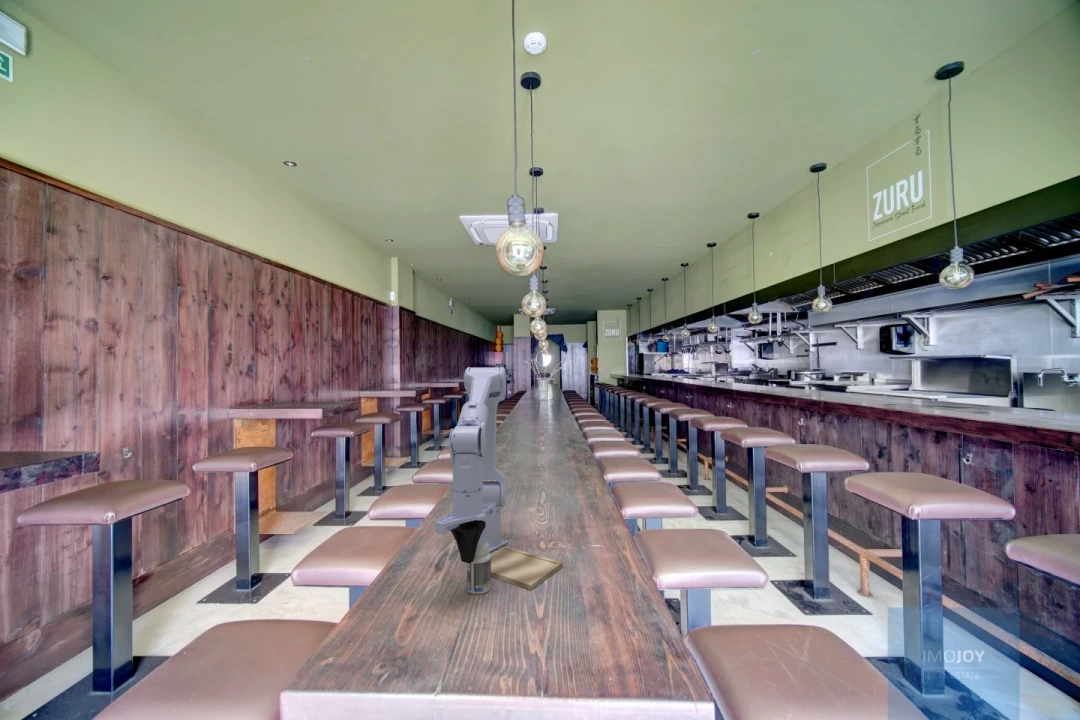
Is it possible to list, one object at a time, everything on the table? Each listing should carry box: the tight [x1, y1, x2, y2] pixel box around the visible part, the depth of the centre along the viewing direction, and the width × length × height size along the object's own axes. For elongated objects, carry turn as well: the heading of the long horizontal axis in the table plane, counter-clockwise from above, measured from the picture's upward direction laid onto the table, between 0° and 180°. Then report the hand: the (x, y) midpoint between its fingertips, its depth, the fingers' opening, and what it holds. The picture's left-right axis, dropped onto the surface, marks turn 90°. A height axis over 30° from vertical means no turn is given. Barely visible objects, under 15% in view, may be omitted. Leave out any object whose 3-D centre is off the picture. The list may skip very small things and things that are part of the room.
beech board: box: [490, 546, 564, 591], centre depth 89 cm, size 16×12×1 cm
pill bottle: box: [466, 541, 492, 595], centre depth 81 cm, size 5×5×8 cm
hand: (467, 561), depth 78 cm, fingers closed
